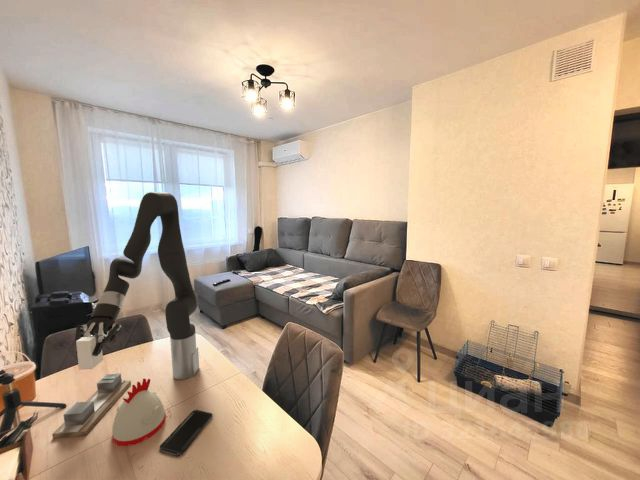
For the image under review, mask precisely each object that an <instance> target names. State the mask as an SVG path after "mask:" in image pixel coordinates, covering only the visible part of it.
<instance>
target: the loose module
mask: <svg viewBox="0 0 640 480" xmlns="http://www.w3.org/2000/svg"><path fill="white" fill-rule="evenodd" d="M96 340H97V339H96V336H95V337H82V338H80V339H79V340H77V341H75V343H76V351H77V354H76V356H77V355H78V356H77V362H78V363H77V364H78V370H83V371H84V370H93V369H94V368H96V367H97V366H98V365H99V364H100V363H102V362H103V360H104V355H103V350H102V351H101V353H100V354H98V356H93V355H92V353H93V351H94V348H95V346H96V343H98V341H96Z"/></svg>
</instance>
